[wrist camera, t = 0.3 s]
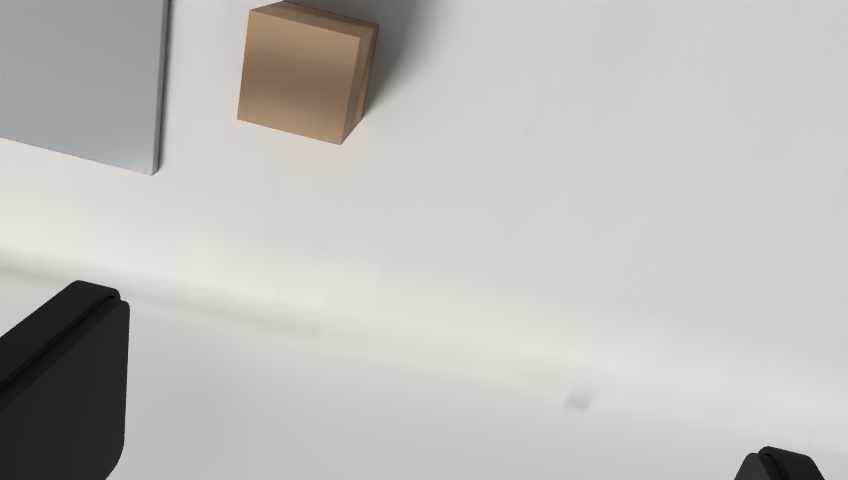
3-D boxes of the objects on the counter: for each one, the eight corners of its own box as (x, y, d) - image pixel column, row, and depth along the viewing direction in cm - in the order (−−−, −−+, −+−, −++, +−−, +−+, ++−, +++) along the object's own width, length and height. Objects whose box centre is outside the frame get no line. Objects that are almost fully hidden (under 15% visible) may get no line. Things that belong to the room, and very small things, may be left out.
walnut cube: (283, 0, 42) (249, 10, 37) (379, 24, 42) (359, 37, 37) (270, 97, 45) (237, 119, 39) (361, 120, 44) (340, 145, 39)
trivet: (-20, -58, 43) (-29, -58, 42) (169, -10, 42) (163, -9, 42) (-13, 129, 48) (-21, 132, 47) (157, 172, 47) (151, 175, 47)
